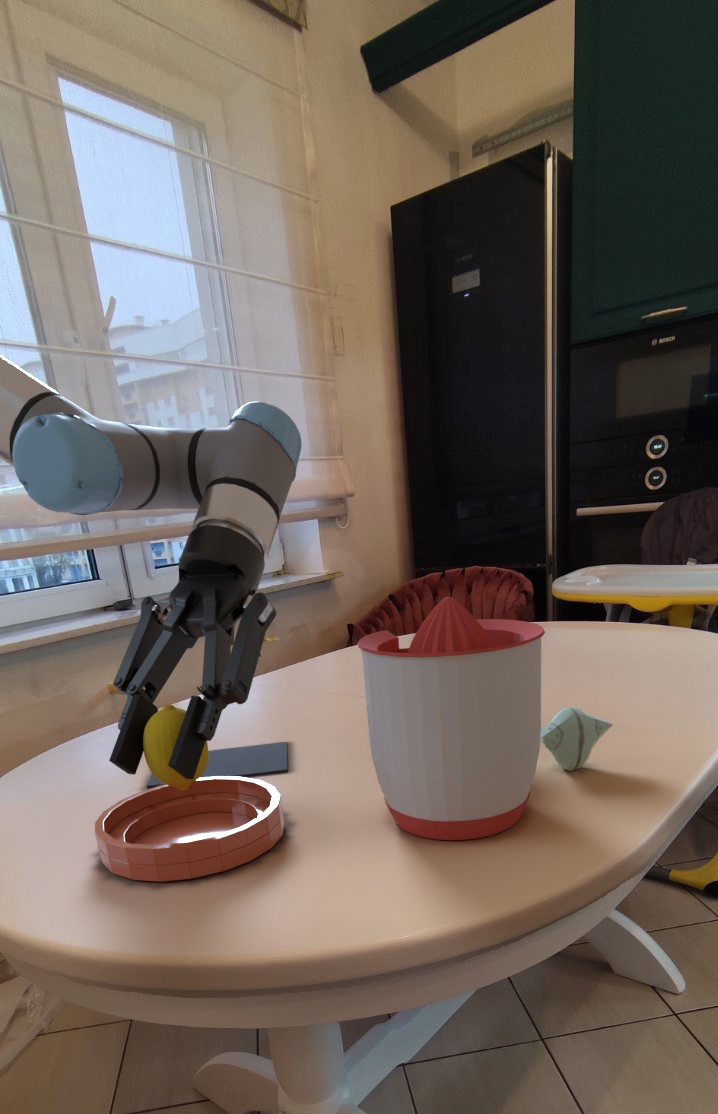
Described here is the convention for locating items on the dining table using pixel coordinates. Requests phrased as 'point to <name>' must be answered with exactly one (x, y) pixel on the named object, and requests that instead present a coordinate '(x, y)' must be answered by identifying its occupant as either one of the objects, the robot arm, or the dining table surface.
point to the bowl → (190, 828)
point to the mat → (242, 762)
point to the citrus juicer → (455, 721)
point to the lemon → (168, 747)
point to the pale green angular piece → (572, 736)
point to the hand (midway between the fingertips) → (151, 769)
